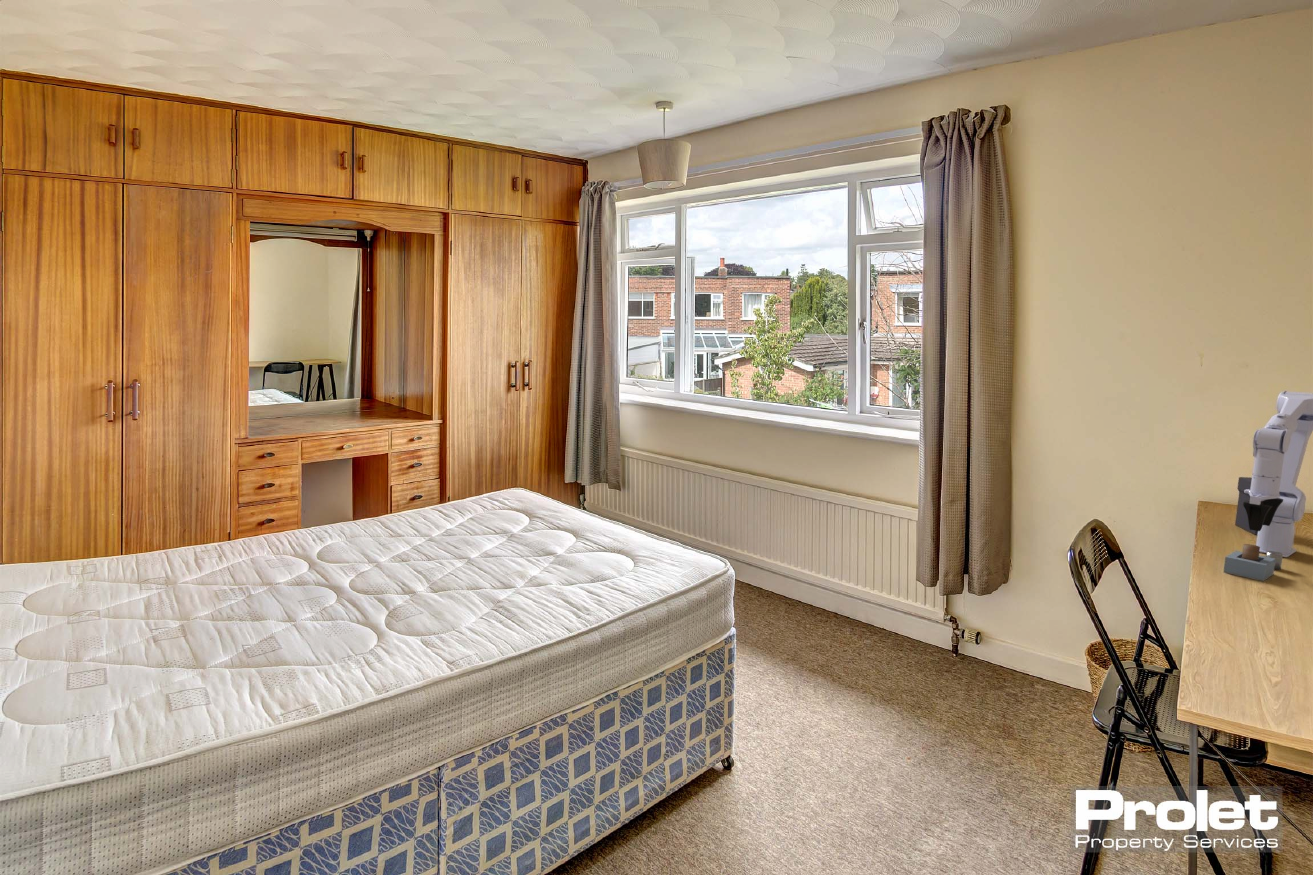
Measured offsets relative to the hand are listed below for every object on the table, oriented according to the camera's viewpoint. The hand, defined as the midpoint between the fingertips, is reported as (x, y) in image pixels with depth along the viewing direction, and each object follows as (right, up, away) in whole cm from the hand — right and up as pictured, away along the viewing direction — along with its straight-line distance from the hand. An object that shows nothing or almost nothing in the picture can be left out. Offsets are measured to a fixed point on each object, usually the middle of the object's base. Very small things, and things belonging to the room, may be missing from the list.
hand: (1259, 527), depth 192 cm
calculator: (+22, -5, +30) cm, 38 cm away
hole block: (-8, -11, -6) cm, 15 cm away
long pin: (-8, -11, -6) cm, 15 cm away
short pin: (+1, -10, -2) cm, 10 cm away
